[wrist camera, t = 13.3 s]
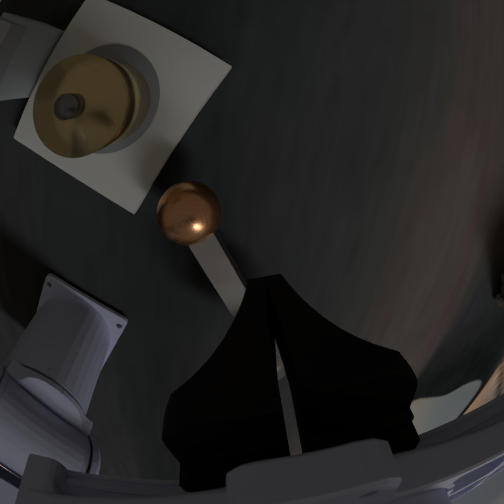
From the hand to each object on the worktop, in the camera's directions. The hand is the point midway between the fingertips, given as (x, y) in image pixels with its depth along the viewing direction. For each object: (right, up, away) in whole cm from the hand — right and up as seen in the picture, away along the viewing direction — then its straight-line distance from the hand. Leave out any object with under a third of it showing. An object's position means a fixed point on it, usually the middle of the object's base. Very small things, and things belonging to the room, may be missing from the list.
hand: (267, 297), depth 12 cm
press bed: (-11, +12, +4) cm, 17 cm away
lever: (-3, +2, +8) cm, 9 cm away
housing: (-9, +11, +3) cm, 14 cm away
